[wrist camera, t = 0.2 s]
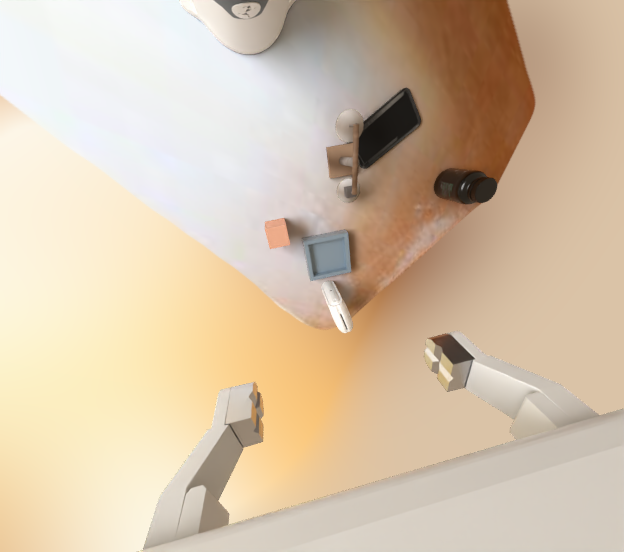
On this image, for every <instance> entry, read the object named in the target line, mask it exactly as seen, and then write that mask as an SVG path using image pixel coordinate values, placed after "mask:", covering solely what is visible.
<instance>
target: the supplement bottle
mask: <svg viewBox="0 0 624 552" xmlns="http://www.w3.org/2000/svg"><path fill="white" fill-rule="evenodd" d="M496 189H497V182H496V181H495V179H493V178H489V177H487V176H486V175H485V174H484V173H483V172H481V171H475V170H465V169H453V168H451V169H447V170H445V171H443V172H442V173H441V174H440V175H439V176H438V177H437V179H436V181H435V184H434V191H435V194H436V195H437V196H438V197H440V198H443V199H446V200H450V201H454V202H457V203H461V204H472V203H474V202H478V203H483V202H487V201H488V200H489V199H491V198H492V197H493V195H494V194H495V192H496Z"/></svg>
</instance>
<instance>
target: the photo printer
mask: <svg viewBox="0 0 624 552" xmlns="http://www.w3.org/2000/svg"><path fill="white" fill-rule="evenodd" d="M321 287H322V291H323V294H324V297H325V300H326V302H327V305H328V307H329V309H330V312H331V314H332V317H333V319H334V321H335V323H336V325H337V327H338V329H339V330H340V331H341V332H343V333H347V332H349V331H351V330H352V328H353V322H352V319H351V316H350V313H349V311H348V308H347V306H346V304H345V302H344V300H343V298H342V296H341V294H340V292H339V290H338V289H337V287H336V285H335V283H334V282H333V281H326V282H324V283H323V285H322V286H321Z"/></svg>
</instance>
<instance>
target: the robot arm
mask: <svg viewBox="0 0 624 552" xmlns="http://www.w3.org/2000/svg"><path fill="white" fill-rule="evenodd" d="M179 1H180V4H181V6H182V7H183V8H184V9H185V10H186V11H187V12H188V13H189V14H191V15H192V16H194V17H196V18H197V19H199V20H201V21H202V22H203V24H204V25H205V26H206V27H207V28H208V30H209V31H210V32H211V33H212V34H213V36H214V37H215V38H216V39H217V40H218V41H219V42H220V43H222V44H223V45H224V46H226V47H227V48H229V49H231V50H233V51H235V52H238V53H241V54H256V53H260V52H262V51H264V50H266V49H267V48H269V47H270V46H271V45H272V44H273V43H274V42H275V40H276V39H277V38H278V36H279V34H280V32H281V30H282V28H283V25H284V21H285V18H286V15H287V12H288V10H289V8H290V7H291V6H292V4H293V3H294V2H295V0H179ZM425 345H426V346H427V348H426V350H425V351H424V357H425V362H426V364H427V366H428V367H429V368H430V370H431V371H432V372H434V373H436V374H438V375H437V376H438V378H437V379H438V380H439V382H440V383H441V384H442V386H443V387H444V388H445V390H446V391H447V392H449V391H453V390H457V389H461V388H465V389H467V390H468V391H470V392H471V393H473V394H474V395H476V396H478V397H479V398H481V399H482V400H484V401H486V402H487V403H489V404H490V405H492V406H493V407H495V408H497V409H498V410H500V411H502V412H503V413H505V414H506V415H508V416H509V417H511V418H513V419H514V421H513V423H512V425H511V427H510V433H511V434H512V435H513V436H514V438H515V439H516V440H515V441H512V442H508V443H505V444H501V445H498V446H495V447H491V448H488V449H485V450H481V451H477V452H474V453H471V454H467V455H464V456H460V457H457V458H454V459H451V460H447V461H443V462H440V463H437V464H433V465H430V466H427V467H423V468H420V469H417V470H413V471H410V472H406V473H403V474H400V475H396V476H392V477H389V478H386V479H382V480H379V481H375V482H372V483H369V484H365V485H362V486H358V487H355V488H352V489H348V490H345V491H341V492H338V493H335V494H331V495H328V496H325V497H321V498H318V499H314V500H311V501H308V502H304V503H301V504H298V505H294V506H291V507H287V508H284V509H280V510H277V511H274V512H270V513H267V514H264V515H260V516H257V517H253V518H250V519H246V520H244V521H240V522H237V523H233V524H230V525H228V522H229V513H228V511H227V510H226V509H225V508H224V507H223V506H222V505H221V504H220V503H219V502H218V500H219V498H220V496H221V494H222V492H223V490H224V488H225V486H226V484H227V482H228V480H229V478H230V476H231V473H232V472H233V469H234V467H235V465H236V463H237V461H238V459H239V457H240V455H241V453H242V451H243V448H244V447H247V446H251V445H254V444H257V443H261V442H263V423H262V421H261V418H262V417H263V414H264V410H263V409H264V408H263V400H262V396H261V394H260V393H259V392H257V385H256V383H255V382H254V383H249V384H244V385H239V386H235V387H231V388H226V389H222V390H220V392H219V394H218V398H217V404H216V409H215V413H214V418H213V423H212V428H211V429H209V430H207V431H206V433H205V434H204V436H203V437H202V438H201V440H200V441H199V443H198V444H197V445H196V447H195V448H194V449H193V451H192V452H191V453H190V455H189V456H188V458H187V459H186V460H185V462H184V463H183V464H182V466H181V467H180V469H179V470H178V472H177V473H176V474H175V476H174V477H173V478H172V480H171V481H170V482H169V484H168V485H167V487H166V488H165V489H164V491H163V492H162V493H161V495H160V497H159V500H158V503H157V507H156V510H155V513H154V516H153V519H152V522H151V526H150V529H149V532H148V535H147V538H146V541H145V545H144V548H143V550H141V551H138V552H624V409H621V410H617V411H614V412H610V413H607V414H603V415H598V414H597V413H596V412H595V411H593V410H592V409H591V408H590V407H588V406H587V405H586V404H585V403H583V402H582V401H581V400H579V399H578V398H577V397H576V396H574V395H573V394H572V393H571V392H569V391H568V390H567V389H565V388H564V387H563V386H562V385H560V384H558V383H556V382H554V381H551V380H549V379H546V378H544V377H541V376H539V375H536V374H534V373H532V372H529V371H527V370H524V369H522V368H519V367H517V366H514V365H512V364H509V363H507V362H504V361H502V360H500V359H497V358H495V357H492V356H486V355H485V354H484V353H483V352H482V351H481V350H480V349H479V348H477V346H475V345H474V344H473V343H472V342H471V341H470V340H469V339H468V338H467V337H466V336H465V335H463V334H462V333H461V332H459V331H454V332H451V333H447V334H442V335H438V336H435V337H431V338H427V339H426V342H425Z"/></svg>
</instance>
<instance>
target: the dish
mask: <svg viewBox="0 0 624 552" xmlns="http://www.w3.org/2000/svg"><path fill="white" fill-rule="evenodd" d="M302 241H303V246H304V252H305V257H306V263H307V268H308V274H309V278H310V281H313V280H317V279H322V278H326V277H331V276H335V275H340V274H344V273H349V272H351V264H350V251H349V238H348V232H347V231H346V230H340V231H335V232H330V233H325V234H320V235H316V236H311V237H306V238H302Z"/></svg>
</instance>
